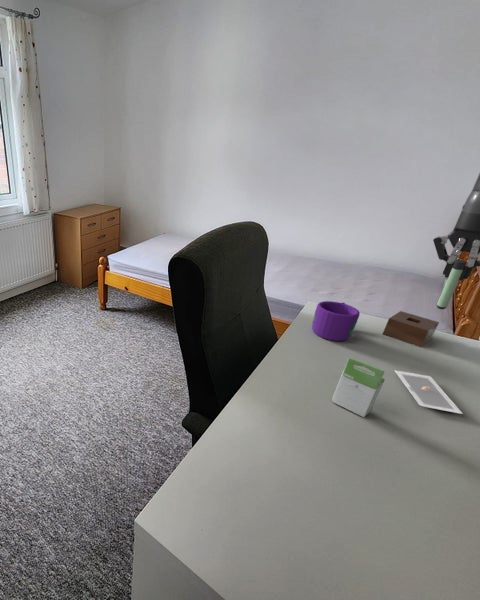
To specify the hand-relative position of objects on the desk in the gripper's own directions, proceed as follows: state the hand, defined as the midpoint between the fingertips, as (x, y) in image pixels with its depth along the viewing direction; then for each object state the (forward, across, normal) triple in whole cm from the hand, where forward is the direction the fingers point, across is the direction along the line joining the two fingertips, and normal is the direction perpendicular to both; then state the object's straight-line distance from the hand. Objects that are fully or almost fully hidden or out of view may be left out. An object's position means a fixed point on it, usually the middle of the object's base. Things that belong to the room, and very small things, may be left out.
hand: (454, 278), depth 88 cm
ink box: (+26, +3, +37) cm, 45 cm away
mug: (+26, +22, 0) cm, 34 cm away
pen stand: (+27, +7, -16) cm, 32 cm away
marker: (+9, 0, 0) cm, 9 cm away
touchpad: (+26, -6, +16) cm, 31 cm away
